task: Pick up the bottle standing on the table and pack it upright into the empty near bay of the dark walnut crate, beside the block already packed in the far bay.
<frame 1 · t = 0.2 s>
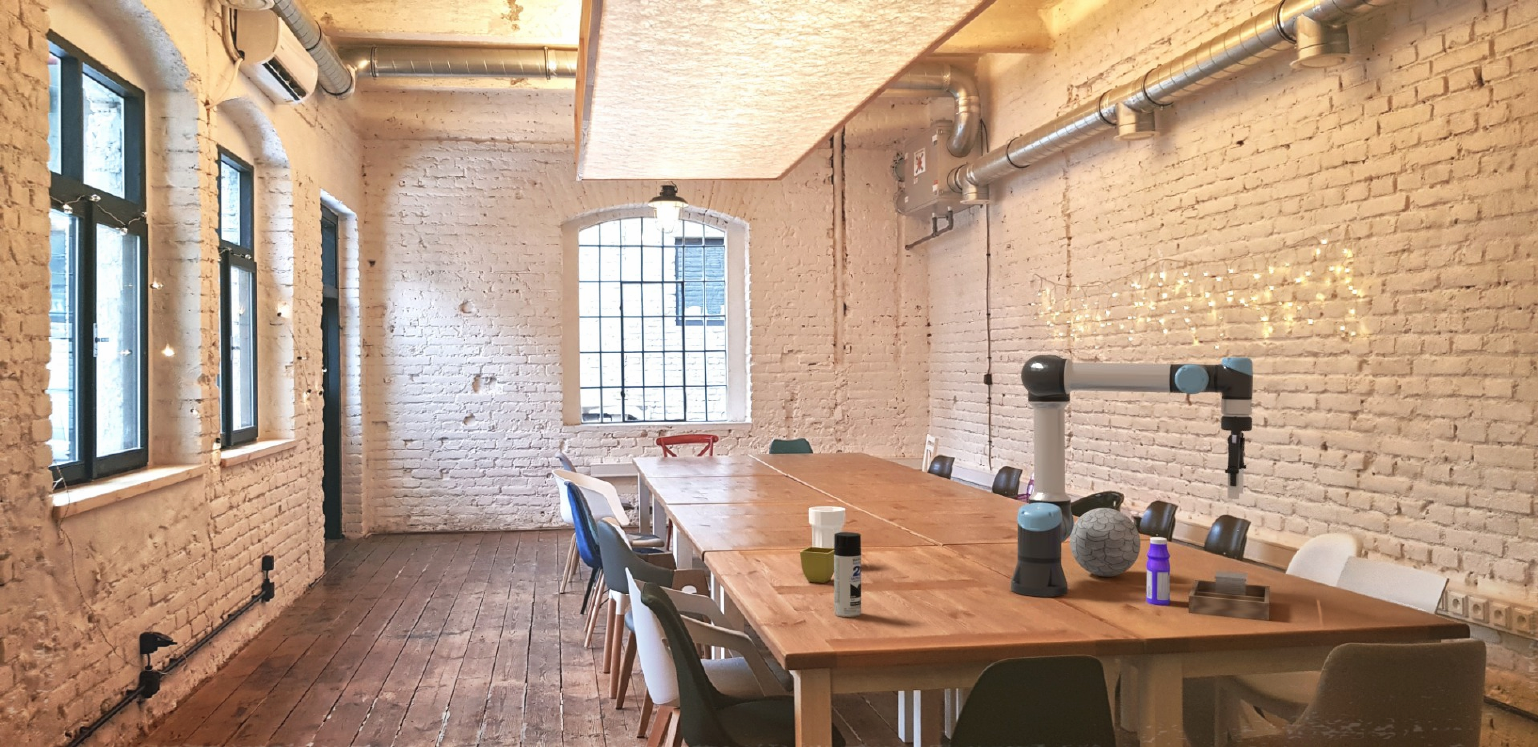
hand: (1235, 495, 282), 28 cm above the table, fingers open, 13 cm apart
block: (1230, 603, 275), point 1 cm above the table, touching crate
decorative sphere: (1104, 576, 313), on the table
crate: (1229, 610, 270), on the table
cup: (826, 565, 327), on the table
flower pot: (818, 581, 303), on the table
bottle: (1157, 605, 275), on the table
spray can: (847, 615, 263), on the table
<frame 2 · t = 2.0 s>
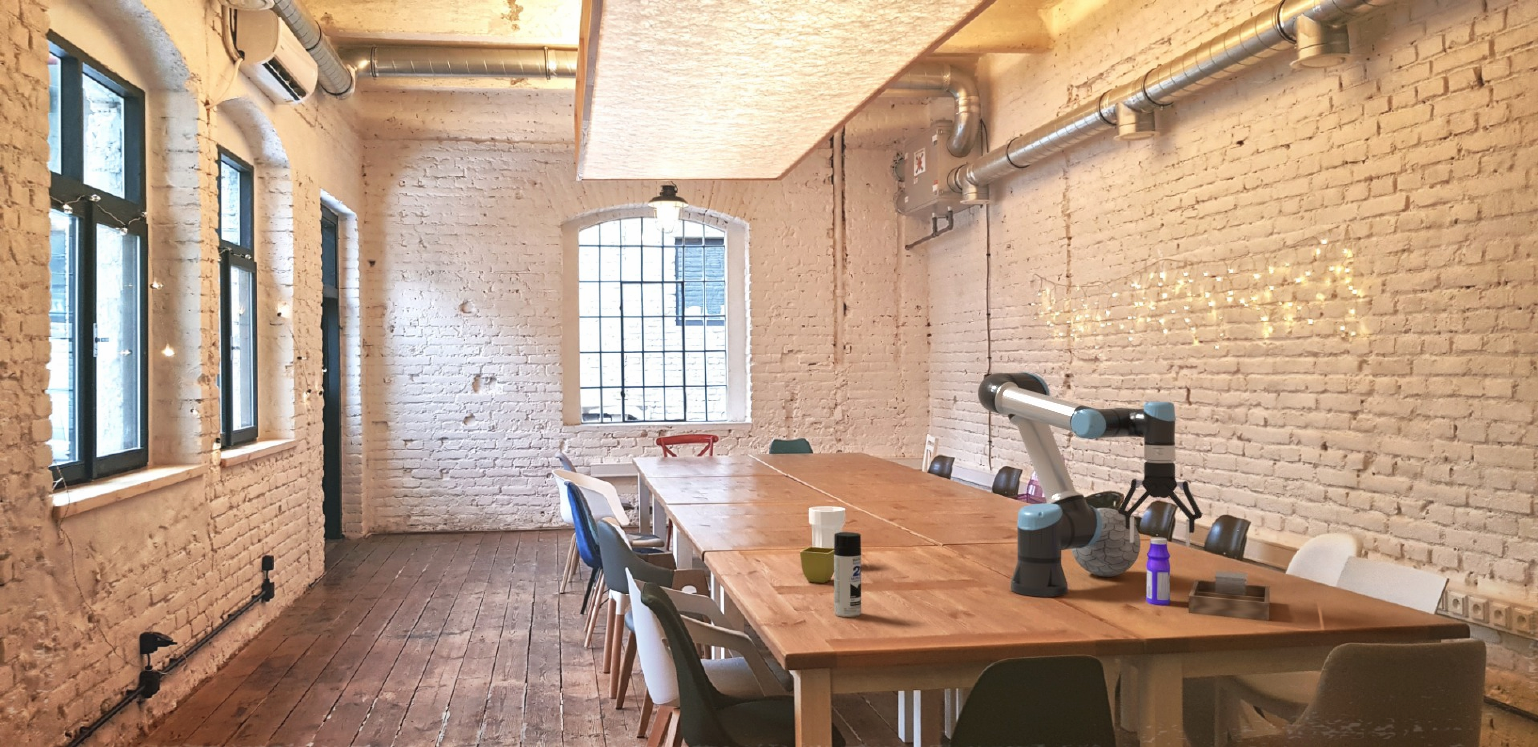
hand: (1159, 543, 275), 16 cm above the table, fingers open, 13 cm apart
nothing on the table moved.
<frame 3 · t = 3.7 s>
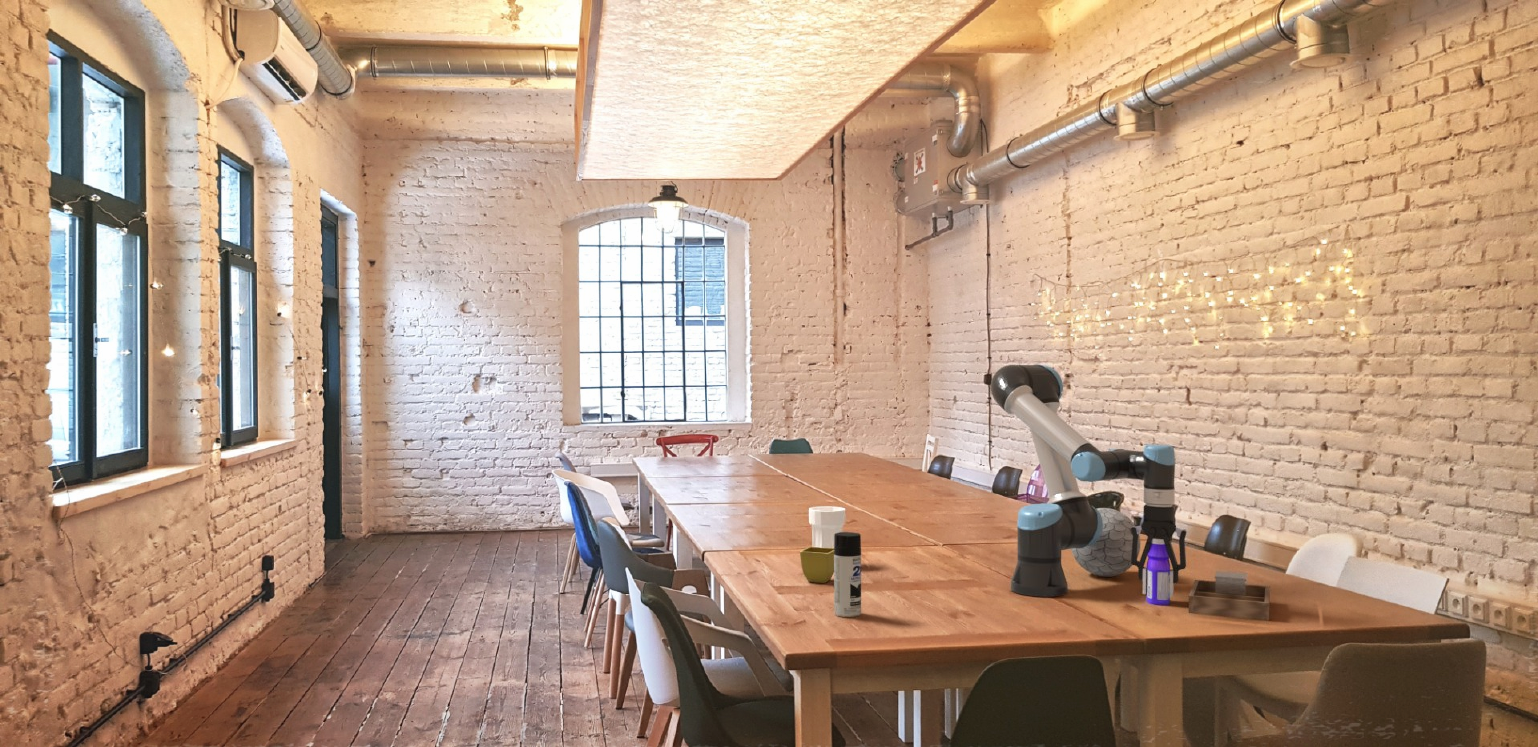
hand: (1158, 593, 275), 3 cm above the table, fingers closed on bottle, 6 cm apart
bottle: (1157, 605, 275), on the table, touching gripper
everything else where it was.
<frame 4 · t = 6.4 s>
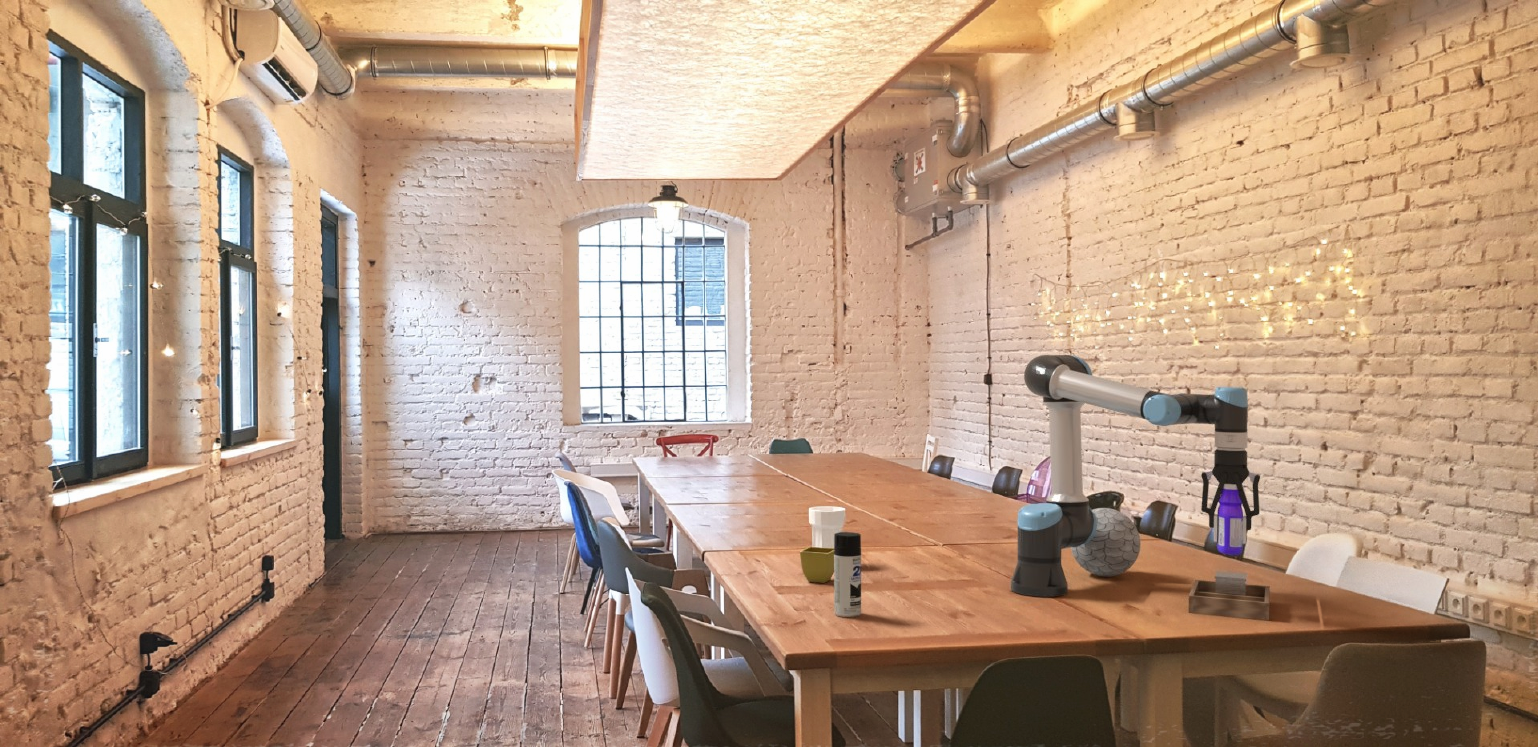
hand: (1229, 541, 265), 18 cm above the table, fingers closed on bottle, 6 cm apart
bottle: (1229, 554, 265), point 15 cm above the table, touching gripper
everything else where it was.
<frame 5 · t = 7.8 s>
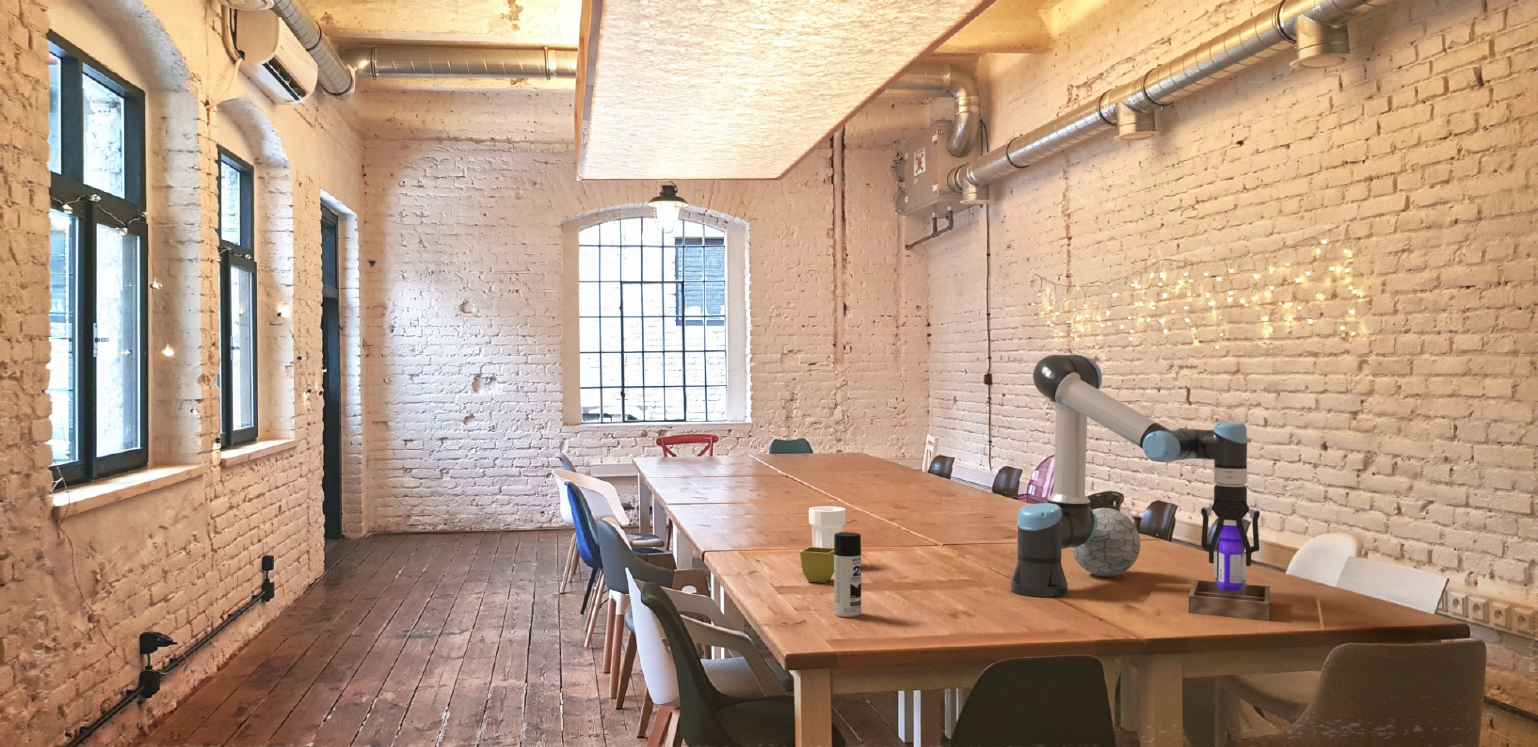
hand: (1229, 577, 265), 9 cm above the table, fingers closed on bottle, 6 cm apart
bottle: (1229, 589, 265), point 6 cm above the table, touching gripper
everything else where it was.
when the fingers open (5 cm above the table, at t = 8.9 s): bottle drops 2 cm, resting on crate.
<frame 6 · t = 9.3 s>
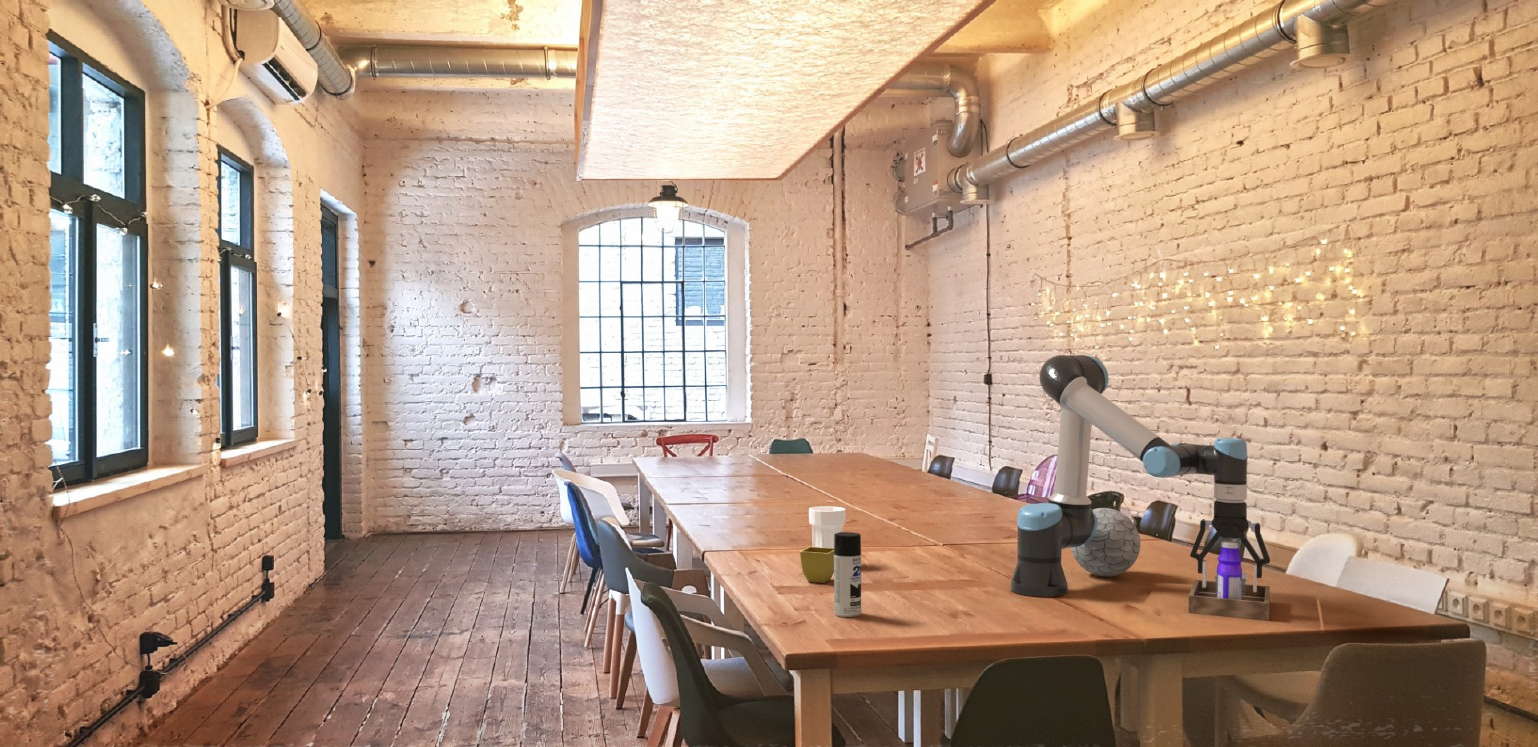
hand: (1229, 588, 265), 6 cm above the table, fingers open, 11 cm apart
bottle: (1228, 612, 265), point 1 cm above the table, touching crate
everything else where it was.
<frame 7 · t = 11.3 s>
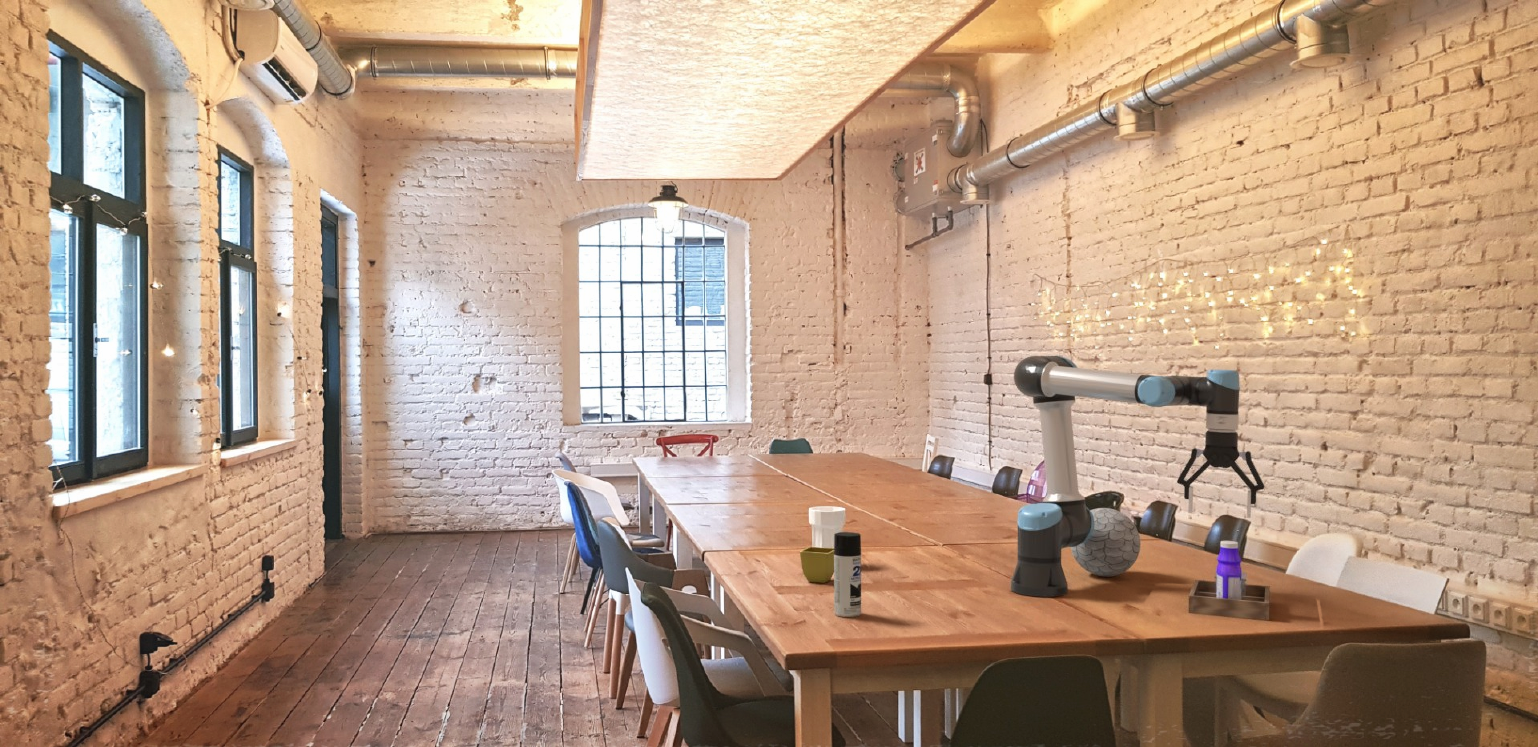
hand: (1219, 514, 269), 24 cm above the table, fingers open, 13 cm apart
nothing on the table moved.
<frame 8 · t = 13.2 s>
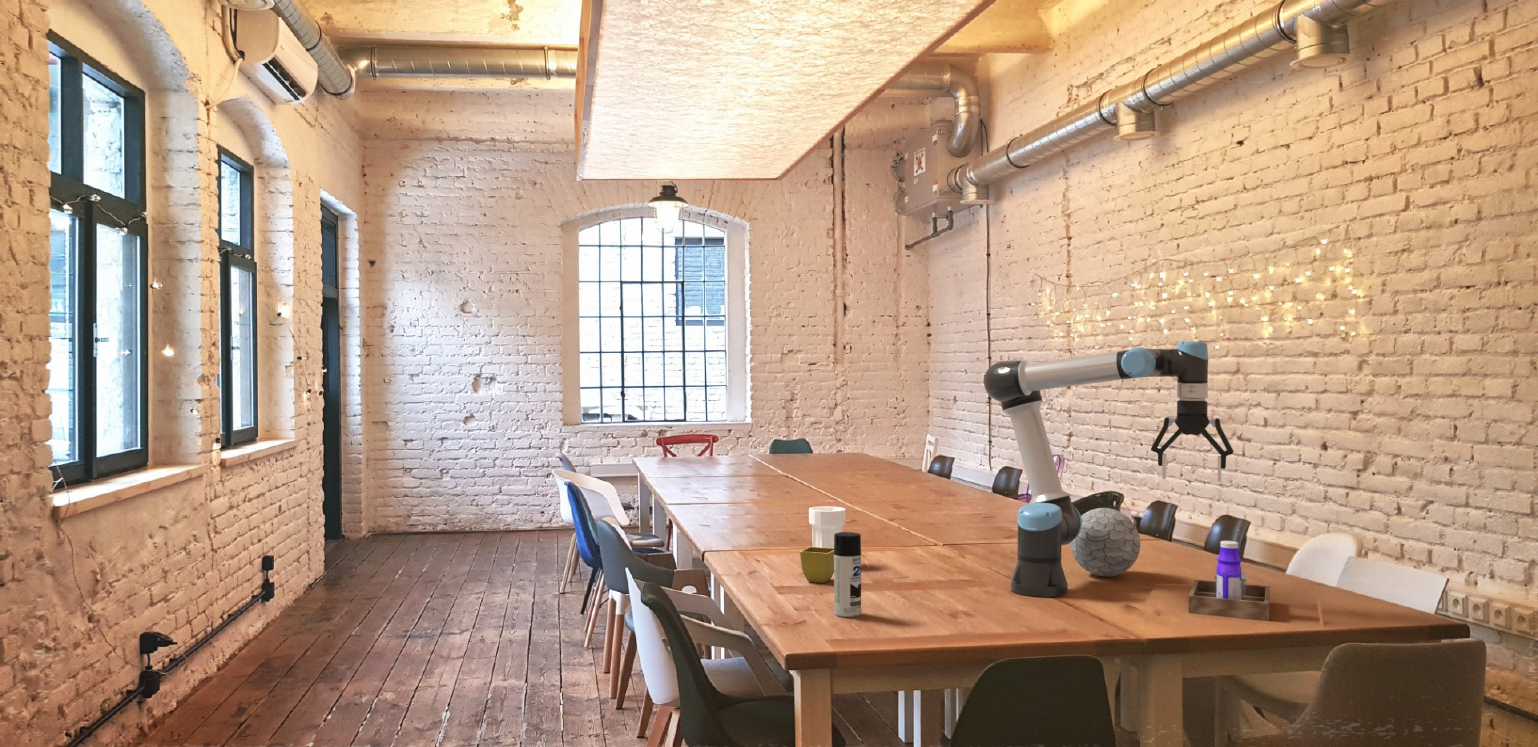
hand: (1191, 479, 282), 32 cm above the table, fingers open, 13 cm apart
nothing on the table moved.
at the end: bottle inside the target area on the crate (0.1 cm from its centre), point 0.6 cm above the crate's base; bottle tilted 0°; the gripper is holding nothing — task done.
